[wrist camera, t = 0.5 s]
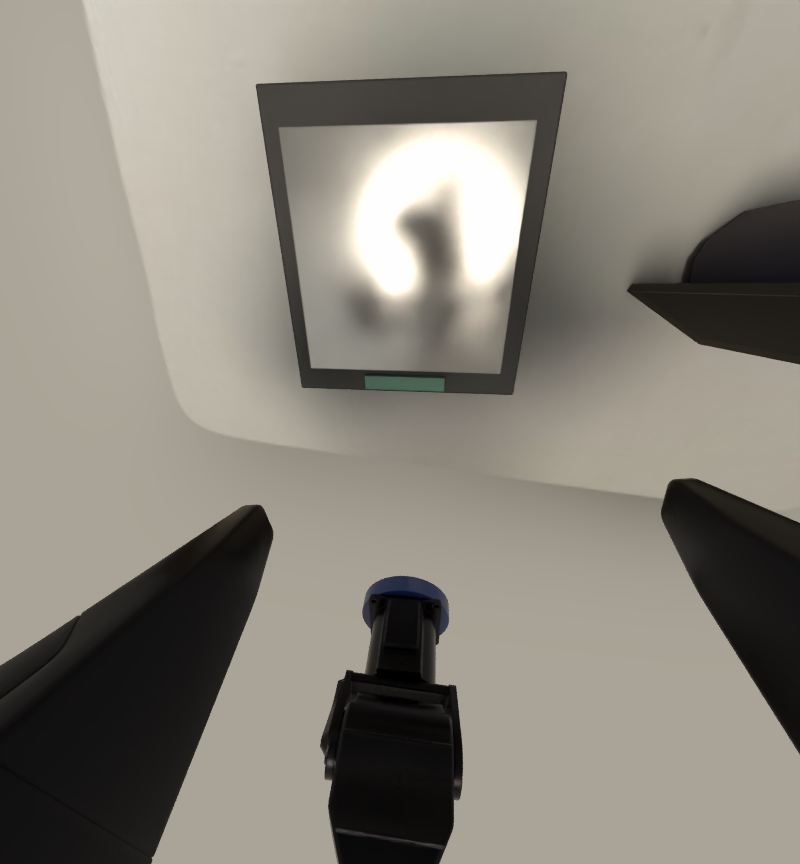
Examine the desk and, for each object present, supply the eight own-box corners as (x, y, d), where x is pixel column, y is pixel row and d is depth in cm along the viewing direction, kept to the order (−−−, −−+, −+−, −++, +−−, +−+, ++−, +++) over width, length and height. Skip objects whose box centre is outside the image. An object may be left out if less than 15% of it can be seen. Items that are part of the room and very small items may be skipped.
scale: (506, 380, 21) (515, 401, 19) (313, 374, 22) (296, 393, 20) (552, 90, 15) (576, 61, 12) (276, 100, 16) (244, 75, 13)
